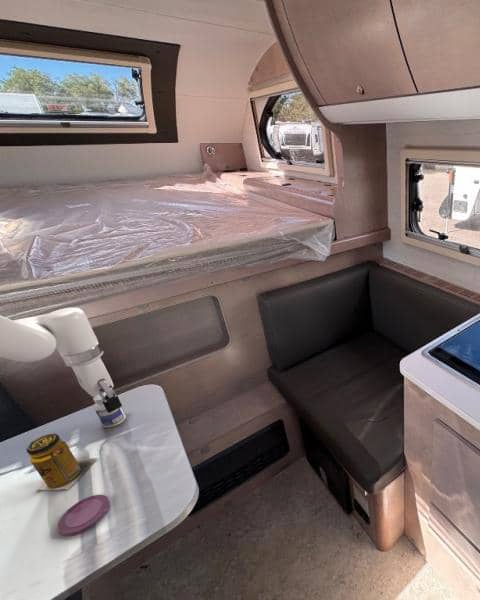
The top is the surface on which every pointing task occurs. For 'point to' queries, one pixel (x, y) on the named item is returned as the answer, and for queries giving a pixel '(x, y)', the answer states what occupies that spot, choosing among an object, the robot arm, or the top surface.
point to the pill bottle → (104, 416)
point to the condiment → (56, 462)
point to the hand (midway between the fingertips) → (107, 402)
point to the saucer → (83, 515)
